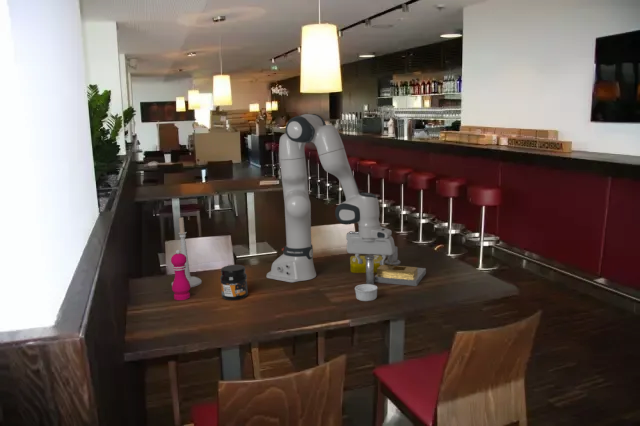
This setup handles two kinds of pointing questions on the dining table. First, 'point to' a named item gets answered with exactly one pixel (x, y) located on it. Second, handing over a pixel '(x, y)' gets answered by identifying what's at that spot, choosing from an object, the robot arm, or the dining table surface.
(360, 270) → the element tile
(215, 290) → the dining table surface
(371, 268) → the steel pin
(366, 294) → the ramekin
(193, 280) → the candlestick
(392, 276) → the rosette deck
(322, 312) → the dining table surface
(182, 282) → the pepper mill
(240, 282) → the supplement container
